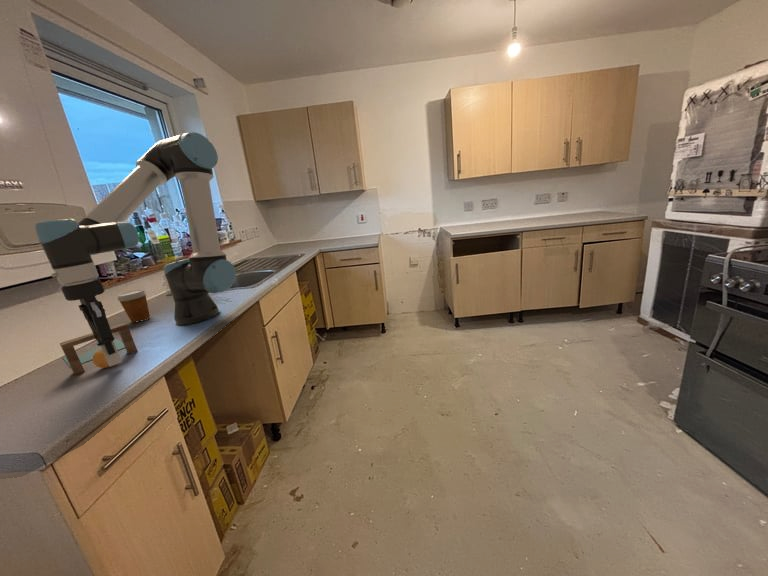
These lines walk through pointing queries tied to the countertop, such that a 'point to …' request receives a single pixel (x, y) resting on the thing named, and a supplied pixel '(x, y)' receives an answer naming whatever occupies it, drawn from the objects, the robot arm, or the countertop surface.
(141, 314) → the disposable coffee cup
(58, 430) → the countertop surface
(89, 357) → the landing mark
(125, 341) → the bridge
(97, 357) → the ball
